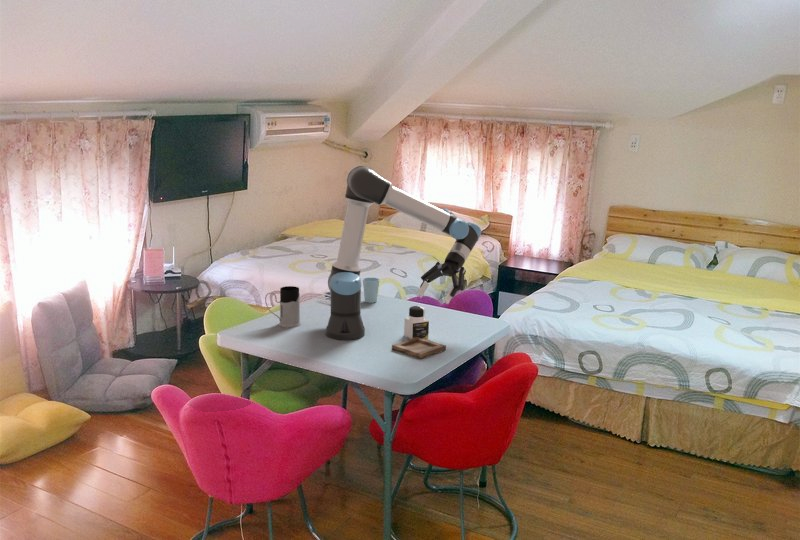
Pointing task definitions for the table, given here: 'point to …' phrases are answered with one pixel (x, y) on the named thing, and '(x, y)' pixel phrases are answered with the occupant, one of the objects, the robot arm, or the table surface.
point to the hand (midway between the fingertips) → (432, 299)
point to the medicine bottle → (416, 323)
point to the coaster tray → (418, 347)
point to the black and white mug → (288, 306)
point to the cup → (370, 289)
